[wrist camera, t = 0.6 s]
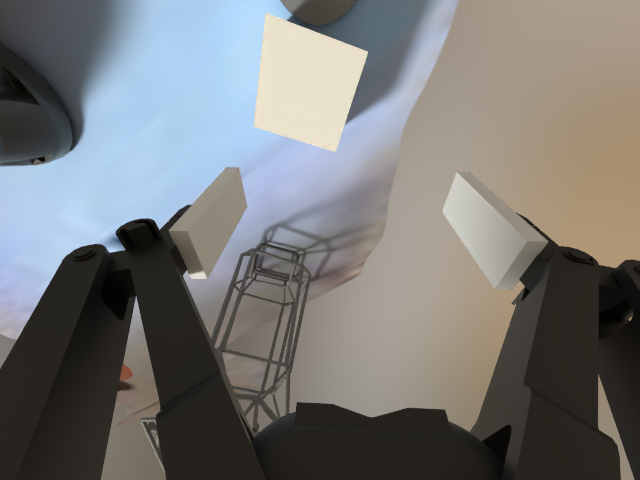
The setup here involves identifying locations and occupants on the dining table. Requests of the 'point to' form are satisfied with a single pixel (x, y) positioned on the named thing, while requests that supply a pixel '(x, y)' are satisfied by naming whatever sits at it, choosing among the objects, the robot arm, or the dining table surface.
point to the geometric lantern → (221, 349)
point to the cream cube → (305, 83)
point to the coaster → (318, 10)
